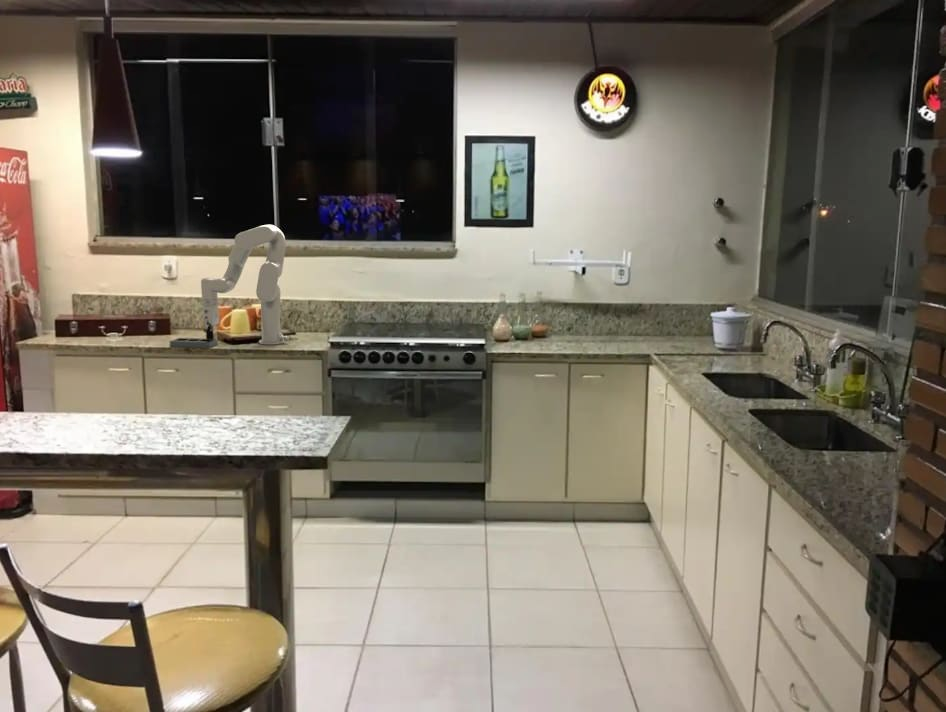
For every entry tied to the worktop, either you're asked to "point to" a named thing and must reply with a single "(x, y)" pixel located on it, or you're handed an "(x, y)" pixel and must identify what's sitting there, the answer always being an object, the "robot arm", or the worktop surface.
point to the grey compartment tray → (193, 343)
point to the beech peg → (214, 331)
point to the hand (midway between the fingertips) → (211, 337)
